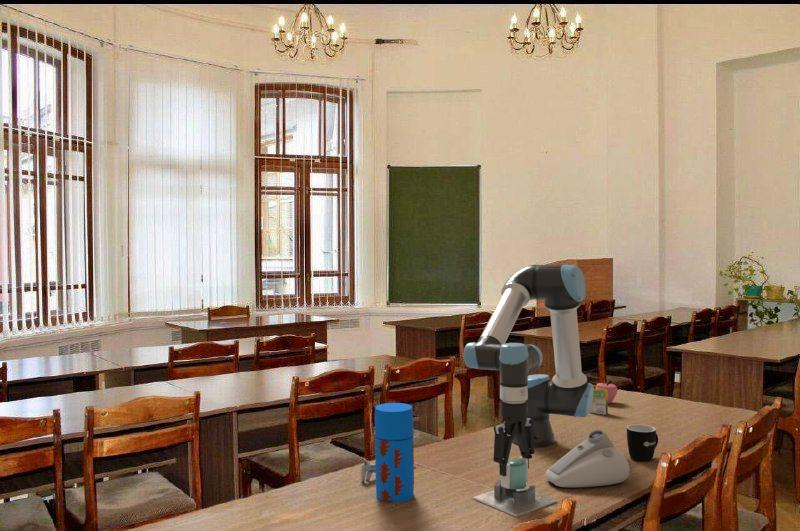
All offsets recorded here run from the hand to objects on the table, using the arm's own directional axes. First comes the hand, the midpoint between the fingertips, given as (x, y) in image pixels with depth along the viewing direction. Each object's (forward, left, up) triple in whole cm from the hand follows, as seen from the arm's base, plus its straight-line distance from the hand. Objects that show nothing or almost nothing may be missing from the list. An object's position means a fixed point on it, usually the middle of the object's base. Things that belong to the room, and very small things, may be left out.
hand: (514, 484), depth 186 cm
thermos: (-24, -23, -5) cm, 34 cm away
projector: (+3, +27, -5) cm, 28 cm away
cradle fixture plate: (0, 0, -5) cm, 5 cm away
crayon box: (-43, +96, -5) cm, 105 cm away
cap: (0, 0, 0) cm, 0 cm away
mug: (+2, +59, -5) cm, 59 cm away
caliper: (-39, -14, -5) cm, 42 cm away
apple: (-51, +113, -5) cm, 124 cm away
